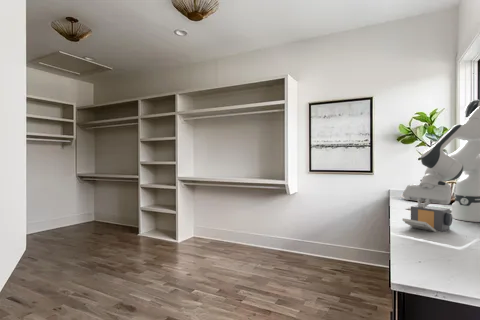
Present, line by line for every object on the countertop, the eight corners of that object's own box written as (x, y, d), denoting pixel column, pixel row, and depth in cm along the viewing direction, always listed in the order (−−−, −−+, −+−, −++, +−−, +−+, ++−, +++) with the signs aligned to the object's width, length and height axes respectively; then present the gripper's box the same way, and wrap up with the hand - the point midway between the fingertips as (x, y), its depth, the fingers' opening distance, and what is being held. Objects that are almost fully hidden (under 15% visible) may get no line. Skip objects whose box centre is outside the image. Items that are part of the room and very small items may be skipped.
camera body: (418, 225, 152) (418, 204, 152) (453, 231, 139) (453, 209, 139) (410, 227, 146) (410, 206, 146) (446, 234, 134) (446, 211, 134)
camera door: (414, 226, 145) (402, 218, 137) (437, 230, 137) (425, 222, 129) (413, 230, 144) (401, 221, 137) (436, 234, 136) (425, 226, 129)
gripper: (406, 180, 151) (396, 200, 146) (452, 183, 135) (443, 206, 129) (410, 187, 154) (400, 207, 149) (455, 192, 137) (446, 215, 132)
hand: (421, 207), depth 139 cm, fingers closed
